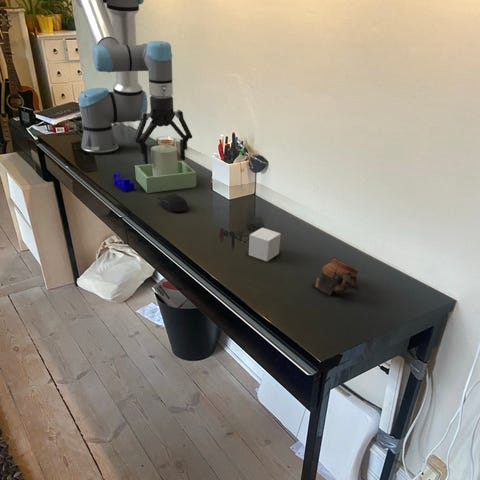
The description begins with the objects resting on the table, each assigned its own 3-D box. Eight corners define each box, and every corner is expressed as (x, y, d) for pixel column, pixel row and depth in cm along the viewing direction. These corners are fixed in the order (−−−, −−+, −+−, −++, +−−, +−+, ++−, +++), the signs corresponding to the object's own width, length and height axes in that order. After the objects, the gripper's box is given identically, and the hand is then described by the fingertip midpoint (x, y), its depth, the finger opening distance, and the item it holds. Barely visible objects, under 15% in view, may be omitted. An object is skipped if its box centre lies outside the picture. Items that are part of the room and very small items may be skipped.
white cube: (260, 247, 136) (262, 227, 133) (279, 253, 133) (280, 233, 130) (248, 255, 132) (249, 234, 128) (266, 261, 129) (268, 240, 126)
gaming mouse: (168, 196, 165) (168, 184, 163) (191, 210, 156) (191, 198, 153) (152, 200, 162) (151, 188, 160) (174, 214, 152) (174, 202, 150)
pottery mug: (307, 282, 122) (322, 252, 120) (337, 295, 125) (353, 266, 123) (325, 295, 111) (342, 263, 109) (358, 310, 114) (375, 278, 112)
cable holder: (134, 189, 169) (133, 178, 167) (125, 191, 167) (124, 180, 165) (123, 183, 174) (122, 172, 172) (114, 185, 172) (113, 174, 170)
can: (180, 177, 179) (179, 144, 172) (175, 186, 171) (174, 151, 164) (156, 176, 179) (154, 142, 172) (150, 184, 172) (147, 150, 165)
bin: (136, 180, 177) (134, 165, 174) (183, 174, 184) (182, 160, 181) (147, 193, 167) (146, 177, 164) (196, 186, 174) (196, 172, 171)
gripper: (126, 100, 152) (132, 167, 164) (201, 96, 161) (201, 160, 173) (120, 95, 157) (126, 161, 169) (193, 91, 166) (193, 154, 179)
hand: (164, 161), depth 171 cm, fingers open, 13 cm apart
